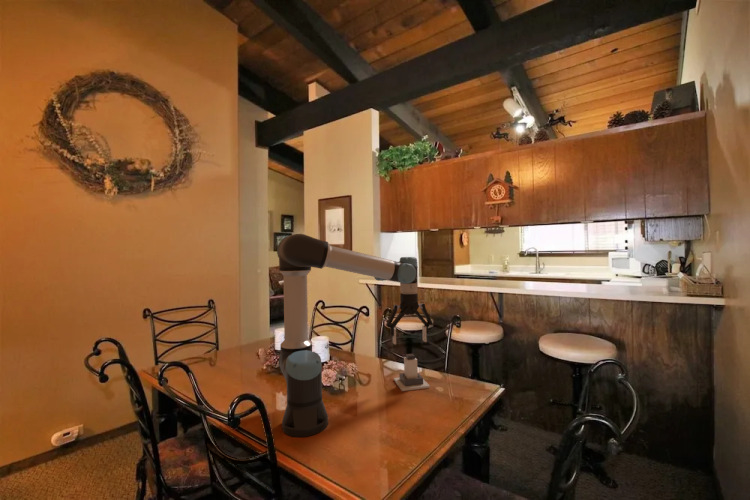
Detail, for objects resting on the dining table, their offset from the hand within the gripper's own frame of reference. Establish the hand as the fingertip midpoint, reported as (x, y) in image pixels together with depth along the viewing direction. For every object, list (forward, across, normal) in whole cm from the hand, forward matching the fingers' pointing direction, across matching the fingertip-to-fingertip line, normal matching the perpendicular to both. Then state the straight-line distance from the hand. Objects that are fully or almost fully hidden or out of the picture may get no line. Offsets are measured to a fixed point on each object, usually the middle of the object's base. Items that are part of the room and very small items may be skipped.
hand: (409, 342), depth 145 cm
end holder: (+18, 0, 0) cm, 18 cm away
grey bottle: (+17, 0, 0) cm, 17 cm away
